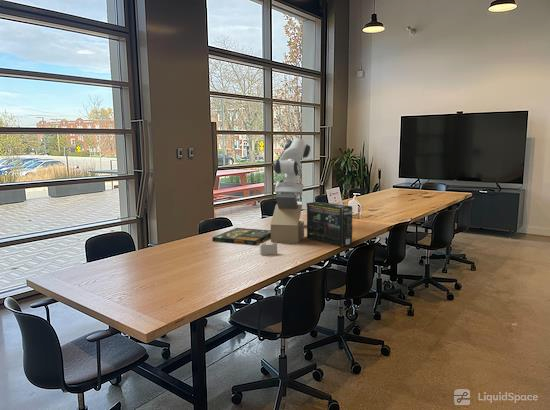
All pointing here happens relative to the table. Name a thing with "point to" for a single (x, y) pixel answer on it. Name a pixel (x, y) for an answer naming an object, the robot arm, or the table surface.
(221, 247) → the table surface
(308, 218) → the router box
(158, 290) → the table surface
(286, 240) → the carton
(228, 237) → the pizza box
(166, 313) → the table surface
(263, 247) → the model
